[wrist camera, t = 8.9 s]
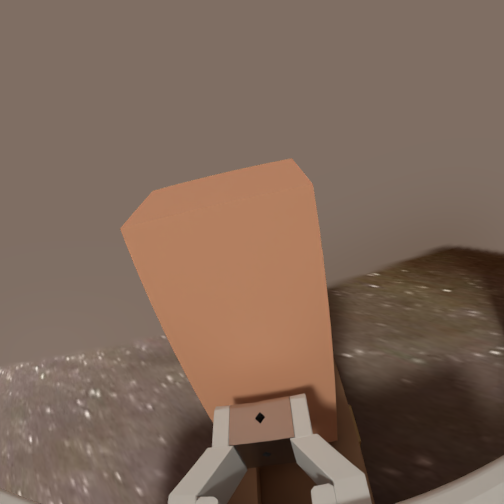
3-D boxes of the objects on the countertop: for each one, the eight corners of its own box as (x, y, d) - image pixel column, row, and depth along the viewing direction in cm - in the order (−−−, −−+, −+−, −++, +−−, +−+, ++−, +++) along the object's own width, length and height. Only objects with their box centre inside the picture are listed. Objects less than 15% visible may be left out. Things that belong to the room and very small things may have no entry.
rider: (325, 399, 17) (291, 158, 11) (337, 450, 13) (312, 184, 8) (239, 414, 17) (152, 190, 11) (239, 465, 14) (120, 228, 8)
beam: (328, 358, 23) (324, 319, 22) (381, 575, 8) (393, 570, 6) (234, 375, 24) (220, 339, 22) (234, 594, 9) (209, 593, 7)
